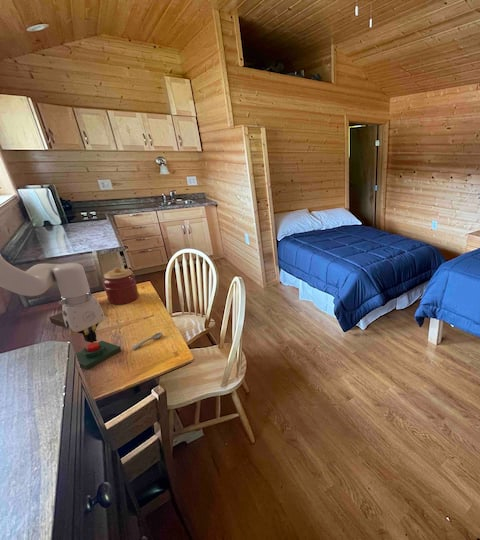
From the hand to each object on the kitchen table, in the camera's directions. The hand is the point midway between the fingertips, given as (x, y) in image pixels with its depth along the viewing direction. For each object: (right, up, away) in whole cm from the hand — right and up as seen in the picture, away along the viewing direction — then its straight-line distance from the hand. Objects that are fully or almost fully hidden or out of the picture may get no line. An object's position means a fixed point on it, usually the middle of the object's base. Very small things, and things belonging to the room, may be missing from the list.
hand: (91, 340), depth 112 cm
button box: (-1, -7, +3) cm, 7 cm away
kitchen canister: (-22, +11, +44) cm, 50 cm away
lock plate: (-28, +5, +25) cm, 38 cm away
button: (0, -3, +1) cm, 4 cm away
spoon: (+12, -4, +13) cm, 18 cm away
